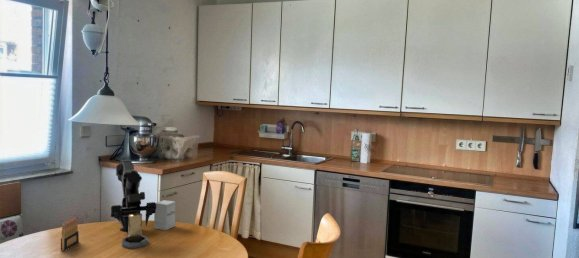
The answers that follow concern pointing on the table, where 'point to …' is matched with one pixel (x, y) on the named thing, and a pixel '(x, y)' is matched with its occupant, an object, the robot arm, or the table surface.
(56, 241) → the table surface
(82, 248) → the table surface
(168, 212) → the supplement box
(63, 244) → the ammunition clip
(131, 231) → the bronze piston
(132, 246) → the ring collar
